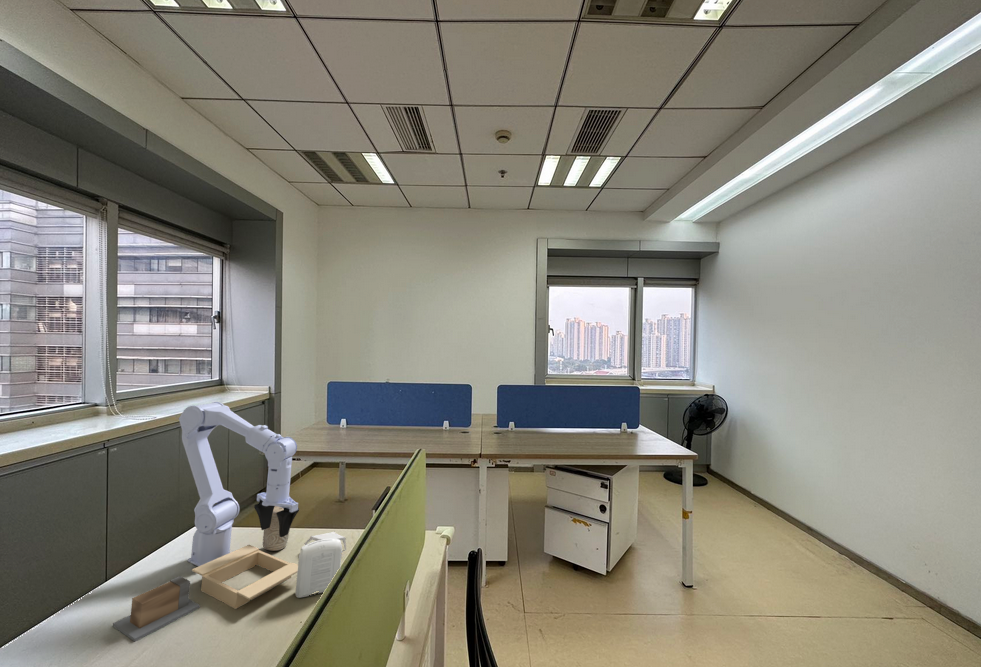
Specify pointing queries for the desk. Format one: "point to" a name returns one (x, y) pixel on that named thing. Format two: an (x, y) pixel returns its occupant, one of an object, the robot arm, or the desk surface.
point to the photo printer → (317, 566)
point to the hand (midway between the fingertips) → (274, 532)
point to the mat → (138, 633)
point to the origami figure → (327, 536)
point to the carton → (237, 564)
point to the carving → (274, 534)
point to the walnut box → (159, 602)
